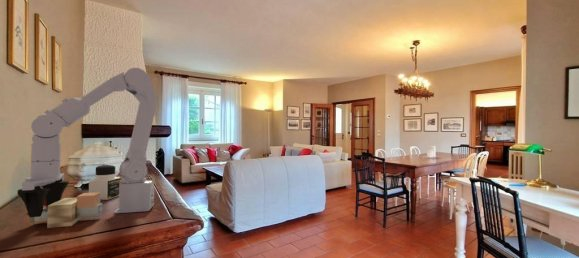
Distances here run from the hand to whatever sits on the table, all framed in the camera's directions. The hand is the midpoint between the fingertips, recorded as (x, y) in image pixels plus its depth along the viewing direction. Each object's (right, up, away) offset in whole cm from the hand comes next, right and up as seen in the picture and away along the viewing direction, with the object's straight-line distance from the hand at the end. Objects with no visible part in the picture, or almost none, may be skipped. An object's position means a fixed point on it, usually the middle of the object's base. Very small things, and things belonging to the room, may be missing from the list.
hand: (44, 212), depth 68 cm
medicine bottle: (-4, -4, +28) cm, 29 cm away
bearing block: (+5, -3, +2) cm, 6 cm away
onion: (-12, -3, +15) cm, 20 cm away
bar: (+5, -2, +2) cm, 6 cm away
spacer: (+9, +1, +3) cm, 10 cm away
